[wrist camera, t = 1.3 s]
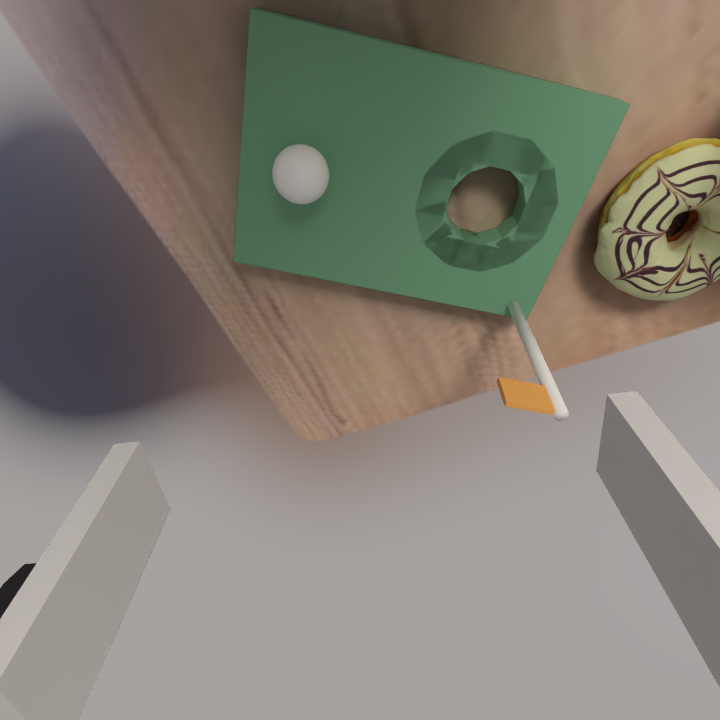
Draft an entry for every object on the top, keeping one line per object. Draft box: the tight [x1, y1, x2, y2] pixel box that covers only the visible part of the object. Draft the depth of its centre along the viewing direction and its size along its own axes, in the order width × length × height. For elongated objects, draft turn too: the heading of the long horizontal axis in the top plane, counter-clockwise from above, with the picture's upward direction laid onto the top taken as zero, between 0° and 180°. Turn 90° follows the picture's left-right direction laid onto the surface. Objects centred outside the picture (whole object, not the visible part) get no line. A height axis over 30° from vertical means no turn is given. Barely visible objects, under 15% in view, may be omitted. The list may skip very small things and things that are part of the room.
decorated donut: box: [594, 138, 720, 301], centre depth 34 cm, size 10×11×4 cm
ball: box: [272, 144, 329, 204], centre depth 30 cm, size 3×3×3 cm
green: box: [233, 8, 630, 421], centre depth 28 cm, size 15×22×14 cm
